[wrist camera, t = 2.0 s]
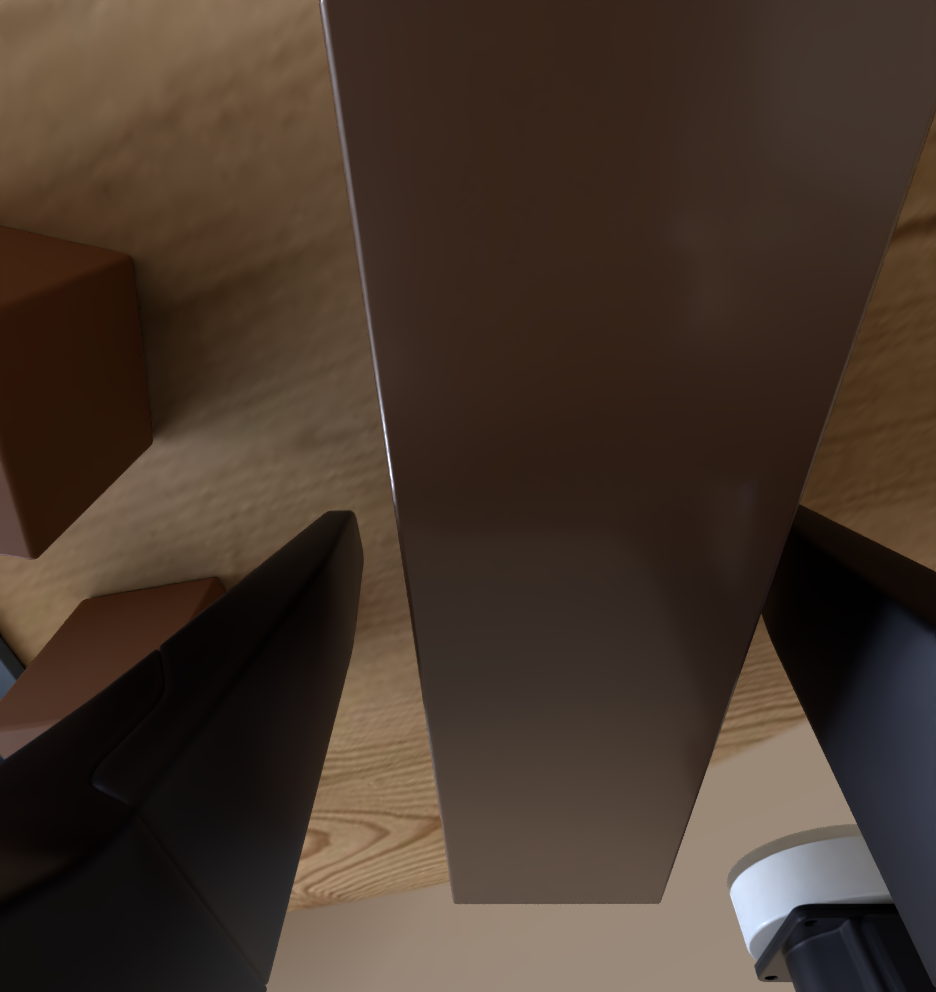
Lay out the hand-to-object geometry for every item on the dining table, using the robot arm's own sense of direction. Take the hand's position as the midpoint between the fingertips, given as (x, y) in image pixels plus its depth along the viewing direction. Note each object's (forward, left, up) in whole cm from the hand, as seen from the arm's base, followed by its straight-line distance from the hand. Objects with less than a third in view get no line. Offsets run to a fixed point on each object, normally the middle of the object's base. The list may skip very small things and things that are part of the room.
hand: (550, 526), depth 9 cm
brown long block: (0, 0, -1) cm, 1 cm away
